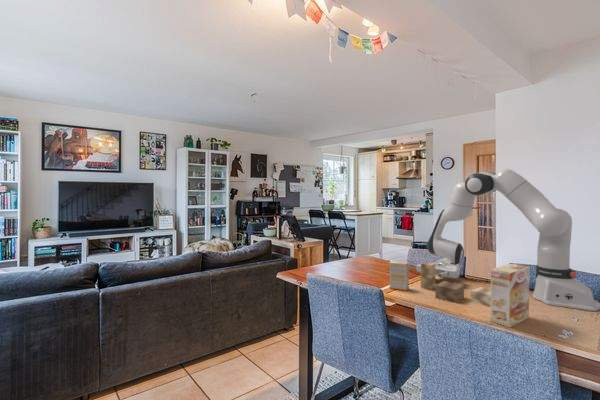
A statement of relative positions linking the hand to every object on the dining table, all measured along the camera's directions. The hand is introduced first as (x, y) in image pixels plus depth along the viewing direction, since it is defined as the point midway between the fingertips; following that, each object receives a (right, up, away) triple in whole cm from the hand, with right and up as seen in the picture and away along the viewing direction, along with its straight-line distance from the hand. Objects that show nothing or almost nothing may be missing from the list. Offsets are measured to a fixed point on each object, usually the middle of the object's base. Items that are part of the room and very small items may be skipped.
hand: (431, 273), depth 162 cm
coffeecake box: (+13, -8, -41) cm, 44 cm away
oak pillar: (-2, -7, -2) cm, 7 cm away
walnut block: (+2, -7, -17) cm, 18 cm away
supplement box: (-16, -7, -2) cm, 18 cm away
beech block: (+14, -7, -23) cm, 28 cm away
